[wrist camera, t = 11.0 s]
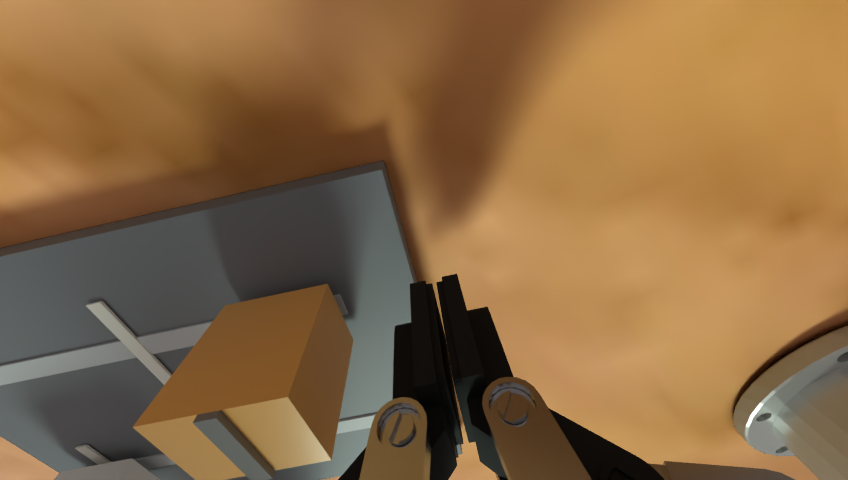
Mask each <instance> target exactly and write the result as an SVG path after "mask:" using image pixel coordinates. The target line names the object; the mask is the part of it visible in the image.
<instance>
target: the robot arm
mask: <svg viewBox="0 0 848 480" xmlns="http://www.w3.org/2000/svg"><path fill="white" fill-rule="evenodd" d="M437 288H438V294H439V300H440V306H441V312H442V318H443V324H444V330H445V334H444V330H443V326H442V322H441V318H440V314H439V310H438V306H437V302H436V298H435V294H434V290H433V286H432V283H431V284H426V282H425V281H421V282H416V283H411V284H410V305H411V322H410V323H405V324H401V325H396V326H395V329H394V361H393V400H391V401H389V402H387V403H386V404H385V405H384V406H382V407H381V408H380V409H379V411H378V412H377V414H376V415H375V417H374V419H373V422H372V425H371V429H370V433H369V438H368V442H367V446H366V448H365V449H364V450H363V451H362V452H361V453H360V455H359V456H358V457H357V458H356V459H355V460H354V462H353V463H352V464H351V465H350V466H349V468H348V469H347V470H346V471H345V472H344V473H343V475H342V476H341V477H340V478H339V479H338V480H448V479H449V477H450V476H451V474H452V473H453V471H454V470H455V468H456V466H457V461H456V458H457V457H458V451H457V445H459V444H463V438H462V432H461V426H460V420H459V414H458V408H457V402H456V396H455V390H456V394H457V398H458V401H459V405H460V409H461V413H462V417H463V421H464V425H465V429H466V433H467V437H468V441H469V443H470V442H475V441H476V446H477V450H478V454H479V458H480V462H482V463H483V464H484V465H486V466H487V467H488V468H490V469H491V470H492V471H493V472H495V473H496V477H497V479H498V480H794V479H792V478H790V477H788V476H786V475H784V474H782V473H779V472H775V471H771V470H767V469H757V468H745V467H733V466H720V465H708V464H695V463H683V462H670V461H664V463H663V465H659V464H648V463H646V462H645V461H643V460H642V459H640V458H639V457H637V456H635V455H633V454H631V453H630V452H628V451H626V450H624V449H622V448H620V447H619V446H617V445H615V444H613V443H611V442H609V441H608V440H606V439H604V438H602V437H600V436H598V435H597V434H595V433H593V432H591V431H589V430H587V429H586V428H584V427H582V426H580V425H578V424H577V423H575V422H573V421H571V420H569V419H567V418H566V417H564V416H562V415H560V414H558V413H556V412H555V411H553V410H551V409H549V408H548V407H547V405H546V404H545V402H544V400H543V399H542V397H541V395H540V394H539V393H538V391H537V390H536V389H535V388H534V386H532V385H531V384H529V383H528V382H527V381H525V380H522V379H519V378H517V377H513V374H512V372H511V369H510V366H509V363H508V361H507V358H506V355H505V353H504V350H503V347H502V344H501V342H500V339H499V336H498V333H497V331H496V328H495V325H494V323H493V320H492V317H491V314H490V312H489V309H488V307H484V308H479V309H474V310H469V311H467V309H466V305H465V302H464V298H463V295H462V291H461V287H460V284H459V280H458V276H457V274H454V275H449V276H444V277H442V281H441V282H437ZM445 336H446V338H445ZM446 342H447V343H446ZM447 348H448V349H447ZM448 354H449V355H448ZM449 360H450V361H449ZM450 366H451V367H450ZM451 371H452V373H451ZM452 377H453V379H452ZM453 381H454V384H453ZM454 386H455V390H454ZM733 422H734V427H735V429H736V430H737V432H738V433H739V434H740V435H741V436H742V438H743V439H744V440H745V441H746V442H747V443H748V444H749V445H750V446H751V447H753V448H754V449H756V450H758V451H760V452H763V453H766V454H771V455H776V456H796V457H797V458H798V459H799V460H800V461H801V462H802V463H803V464H804V465H805V466H806V467H807V468H808V469H809V470H810V471H811V472H812V473H813V474H814V475H815V476H816V477H817V478H818V479H819V480H848V325H847V326H845V327H842V328H840V329H837V330H835V331H832V332H829V333H827V334H825V335H823V336H821V337H819V338H817V339H815V340H813V341H811V342H809V343H807V344H805V345H803V346H801V347H800V348H798V349H797V350H795V351H793V352H792V353H790V354H788V355H787V356H785V357H783V358H782V359H781V360H779V361H778V362H777V363H775V364H774V365H772V366H771V367H770V368H768V369H767V370H766V371H765V372H764V373H762V374H761V375H760V376H759V377H758V378H757V379H756V380H755V381H754V382H753V383H752V384H751V385H750V386H749V387H748V388H747V390H746V391H745V392H744V393H743V394H742V396H741V398H740V399H739V401H738V403H737V405H736V407H735V411H734V415H733Z"/></svg>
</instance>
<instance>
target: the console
mask: <svg viewBox="0 0 848 480" xmlns="http://www.w3.org/2000/svg"><path fill="white" fill-rule="evenodd" d="M416 282H417V279H416V275H415V272H414V268H413V264H412V261H411V257H410V254H409V250H408V246H407V243H406V239H405V236H404V232H403V228H402V225H401V221H400V217H399V214H398V210H397V207H396V203H395V199H394V196H393V192H392V188H391V185H390V181H389V178H388V174H387V170H386V167H385V163H384V160H383V161H379V162H375V163H370V164H366V165H362V166H357V167H353V168H349V169H344V170H340V171H335V172H331V173H327V174H322V175H318V176H314V177H309V178H305V179H301V180H296V181H292V182H287V183H283V184H279V185H274V186H270V187H266V188H261V189H257V190H253V191H248V192H244V193H239V194H235V195H231V196H226V197H222V198H218V199H213V200H209V201H205V202H200V203H196V204H191V205H187V206H183V207H178V208H174V209H170V210H165V211H161V212H156V213H152V214H148V215H143V216H139V217H135V218H130V219H126V220H122V221H117V222H113V223H108V224H104V225H100V226H95V227H91V228H87V229H82V230H78V231H74V232H69V233H65V234H60V235H56V236H52V237H47V238H43V239H39V240H34V241H30V242H26V243H21V244H17V245H12V246H8V247H4V248H0V436H1V437H3V438H4V439H6V440H7V441H9V442H11V443H12V444H14V445H15V446H17V447H19V448H20V449H22V450H23V451H25V452H27V453H28V454H30V455H32V456H33V457H35V458H36V459H38V460H40V461H41V462H43V463H44V464H46V465H48V466H49V467H51V468H52V469H54V470H56V471H57V472H59V473H60V472H62V471H67V470H73V469H78V468H83V467H89V466H94V465H99V464H104V463H110V462H115V461H120V460H126V459H131V458H132V459H134V460H135V461H136V462H138V463H139V464H140V465H142V466H143V467H144V468H145V469H147V470H148V471H149V472H151V473H152V474H153V475H155V476H156V477H157V478H159V479H160V480H195V479H194V478H192V477H191V476H190V475H189V474H188V473H186V472H185V471H184V470H183V469H182V468H180V467H179V466H178V465H177V464H176V463H175V462H173V461H172V460H171V459H170V458H169V457H167V456H166V455H165V454H164V453H163V452H161V451H160V450H159V449H158V448H157V447H155V446H154V445H153V444H152V443H151V442H149V441H148V440H147V439H146V438H145V437H143V436H142V435H141V434H140V433H139V432H137V431H136V430H135V429H134V428H133V426H134V424H135V423H136V422H137V421H138V419H139V418H140V417H141V415H142V414H143V413H144V411H145V410H146V409H147V407H148V406H149V405H150V403H151V402H152V401H153V399H154V398H155V397H156V396H157V394H158V393H159V392H160V390H161V389H162V388H163V386H164V385H165V384H166V382H167V381H168V380H169V378H170V377H171V376H172V375H173V373H174V372H175V371H176V369H177V368H178V367H179V365H180V364H181V363H182V361H183V360H184V359H185V357H186V356H187V355H188V353H189V352H190V351H191V350H192V348H193V347H194V346H195V344H196V343H197V342H198V340H199V339H200V338H201V336H202V335H203V334H204V332H205V331H206V330H207V329H208V327H209V326H210V325H211V323H212V322H213V321H214V319H215V318H216V317H217V315H218V314H219V313H220V311H221V310H222V309H223V307H224V306H225V305H229V304H234V303H238V302H243V301H248V300H253V299H257V298H262V297H267V296H272V295H276V294H281V293H286V292H291V291H295V290H300V289H305V288H309V287H314V286H319V285H324V284H328V285H329V287H330V290H331V292H332V294H333V296H334V298H335V301H336V303H337V305H338V307H339V309H340V311H341V314H342V316H343V318H344V320H345V322H346V325H347V327H348V329H349V331H350V333H351V336H352V338H353V340H354V341H353V346H352V352H351V357H350V362H349V368H348V373H347V379H346V384H345V390H344V395H343V401H342V406H341V412H340V417H339V423H338V428H337V434H336V439H335V444H334V450H333V455H332V460H330V461H324V462H319V463H313V464H308V465H303V466H297V467H292V468H286V469H281V470H275V473H274V476H273V479H267V480H320V479H326V478H332V477H337V476H342V475H343V473H344V472H345V471H346V470H347V469H348V468H349V466H350V465H351V464H352V463H353V462H354V460H355V459H356V458H357V457H358V456H359V455H360V453H361V452H362V451H363V450H364V449H365V448H366V446H367V442H368V438H369V433H370V429H371V425H372V422H373V419H374V417H375V415H376V414H377V412H378V411H379V409H380V408H381V407H382V406H384V405H385V404H386V403H387V402H389V401H391V400H393V361H394V329H395V326H396V325H401V324H405V323H410V322H411V305H410V284H411V283H416ZM457 451H458V455H459V454H462V448H461V444H459V445H457ZM226 480H250V479H249V478H248V477H247V476H242V477H237V478H231V479H226Z"/></svg>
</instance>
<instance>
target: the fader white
mask: <svg viewBox="0 0 848 480" xmlns="http://www.w3.org/2000/svg"><path fill="white" fill-rule="evenodd" d="M54 480H160V479H159V478H157V477H156V476H155V475H153V474H152V473H151V472H149V471H148V470H147V469H145V468H144V467H143V466H142V465H140V464H139V463H138V462H136V461H135V460H134V459H132V458H131V459H126V460H120V461H115V462H110V463H104V464H99V465H94V466H89V467H83V468H78V469H73V470H67V471H62V472H60V473H59V474H58V475H57V477H56V478H55V479H54Z"/></svg>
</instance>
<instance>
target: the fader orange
mask: <svg viewBox="0 0 848 480" xmlns="http://www.w3.org/2000/svg"><path fill="white" fill-rule="evenodd" d="M353 341H354V340H353V338H352V336H351V333H350V331H349V329H348V327H347V325H346V322H345V320H344V318H343V316H342V314H341V311H340V309H339V307H338V305H337V303H336V301H335V298H334V296H333V294H332V292H331V290H330V287H329V285H328V284H324V285H319V286H314V287H309V288H305V289H300V290H295V291H291V292H286V293H281V294H276V295H272V296H267V297H262V298H257V299H253V300H248V301H243V302H238V303H234V304H229V305H225V306H224V307H223V309H222V310H221V311H220V313H219V314H218V315H217V317H216V318H215V319H214V321H213V322H212V323H211V325H210V326H209V327H208V329H207V330H206V331H205V332H204V334H203V335H202V336H201V338H200V339H199V340H198V342H197V343H196V344H195V346H194V347H193V348H192V350H191V351H190V352H189V353H188V355H187V356H186V357H185V359H184V360H183V361H182V363H181V364H180V365H179V367H178V368H177V369H176V371H175V372H174V373H173V375H172V376H171V377H170V378H169V380H168V381H167V382H166V384H165V385H164V386H163V388H162V389H161V390H160V392H159V393H158V394H157V396H156V397H155V398H154V399H153V401H152V402H151V403H150V405H149V406H148V407H147V409H146V410H145V411H144V413H143V414H142V415H141V417H140V418H139V419H138V421H137V422H136V423H135V424H134V426H133V428H134V429H135V430H136V431H137V432H139V433H140V434H141V435H142V436H143V437H145V438H146V439H147V440H148V441H149V442H151V443H152V444H153V445H154V446H155V447H157V448H158V449H159V450H160V451H161V452H163V453H164V454H165V455H166V456H167V457H169V458H170V459H171V460H172V461H173V462H175V463H176V464H177V465H178V466H179V467H180V468H182V469H183V470H184V471H185V472H186V473H188V474H189V475H190V476H191V477H192V478H194V479H195V480H226V479H231V478H237V477H242V476H247V477H248V478H249V479H250V480H267V479H273V476H274V473H275V470H281V469H286V468H292V467H297V466H303V465H308V464H313V463H319V462H324V461H330V460H332V455H333V450H334V444H335V439H336V434H337V428H338V423H339V417H340V412H341V406H342V401H343V395H344V390H345V384H346V379H347V373H348V368H349V362H350V357H351V352H352V346H353Z"/></svg>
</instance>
